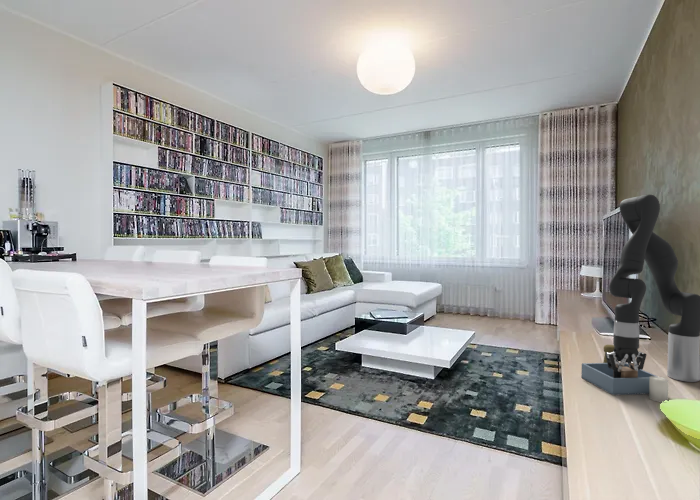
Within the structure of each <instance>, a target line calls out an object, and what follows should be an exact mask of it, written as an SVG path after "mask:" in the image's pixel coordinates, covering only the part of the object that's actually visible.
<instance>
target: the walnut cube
mask: <svg viewBox="0 0 700 500" xmlns="http://www.w3.org/2000/svg"><path fill="white" fill-rule="evenodd" d="M617 368H618V367H617ZM620 372H621V378H638V371H636V370H633V369H631V368H629V367H622V369H621V371H620ZM613 378H614V373H613Z"/></svg>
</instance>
